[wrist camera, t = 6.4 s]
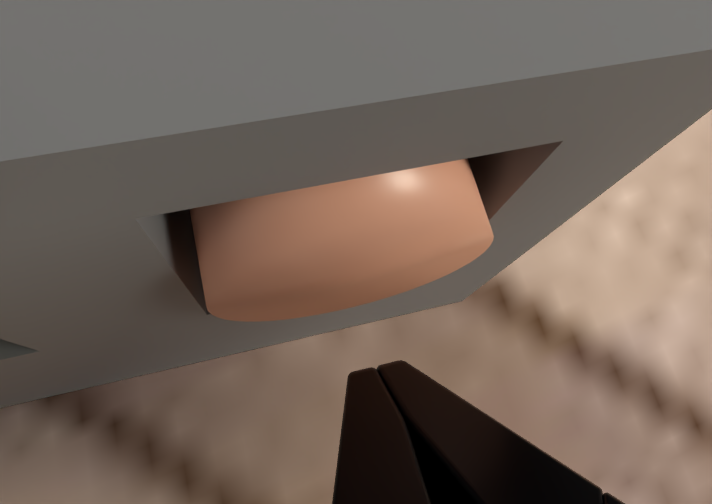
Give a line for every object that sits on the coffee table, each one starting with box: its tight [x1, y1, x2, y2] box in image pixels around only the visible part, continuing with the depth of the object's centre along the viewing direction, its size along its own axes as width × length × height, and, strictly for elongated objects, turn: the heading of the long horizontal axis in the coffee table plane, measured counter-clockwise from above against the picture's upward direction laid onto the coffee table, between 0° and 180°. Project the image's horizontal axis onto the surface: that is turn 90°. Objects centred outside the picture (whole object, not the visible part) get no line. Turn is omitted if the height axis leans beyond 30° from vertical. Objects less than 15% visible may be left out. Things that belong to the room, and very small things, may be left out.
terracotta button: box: [189, 158, 494, 322], centre depth 9 cm, size 2×4×4 cm, turn 105°
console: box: [0, 0, 712, 408], centre depth 10 cm, size 4×17×12 cm, turn 104°
